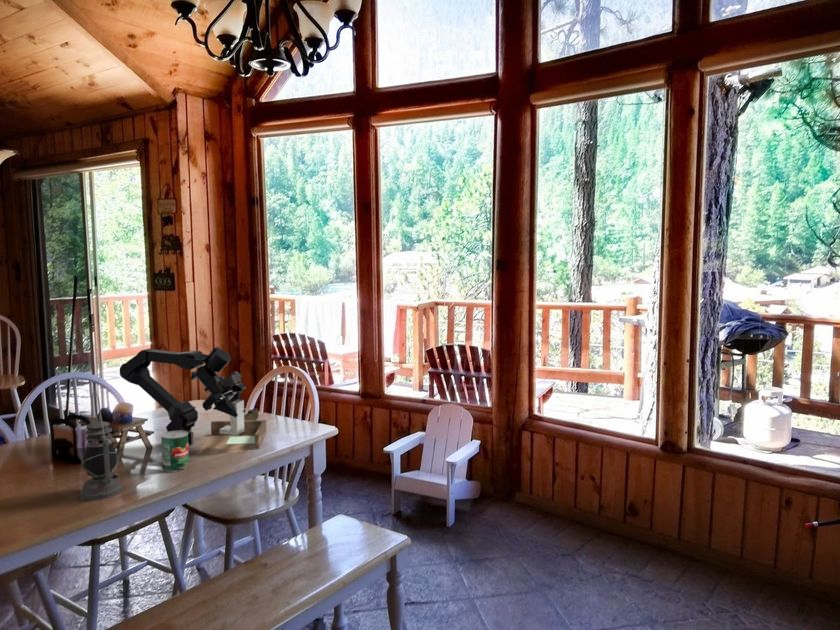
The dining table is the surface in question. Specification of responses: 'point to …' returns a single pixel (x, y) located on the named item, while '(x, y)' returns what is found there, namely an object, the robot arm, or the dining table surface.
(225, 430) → the bracket
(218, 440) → the box
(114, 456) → the lantern
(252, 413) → the hand tool
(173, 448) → the canned tomato
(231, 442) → the pad
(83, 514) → the dining table surface
